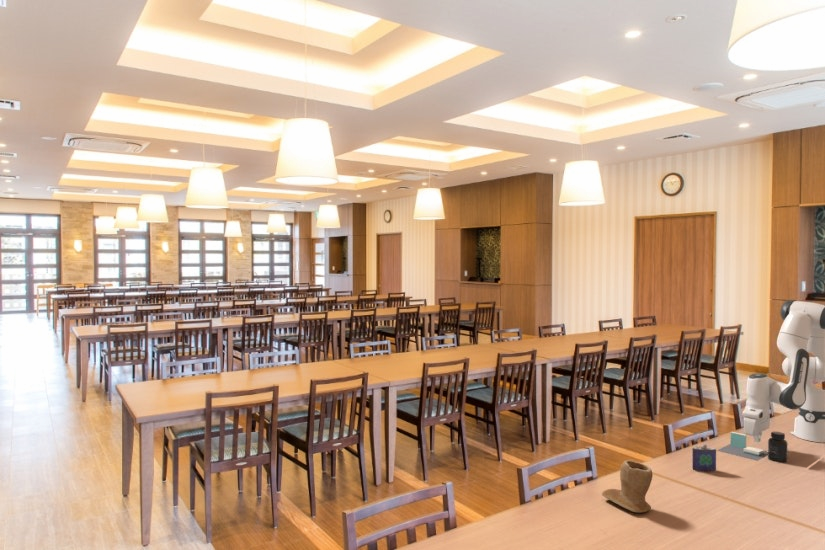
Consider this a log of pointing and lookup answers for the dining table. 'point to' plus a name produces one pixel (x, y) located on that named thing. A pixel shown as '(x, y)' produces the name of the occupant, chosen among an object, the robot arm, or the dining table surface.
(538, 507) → the dining table surface
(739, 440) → the tile
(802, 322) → the robot arm
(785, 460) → the supplement bottle
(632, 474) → the brown boot
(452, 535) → the dining table surface
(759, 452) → the tile
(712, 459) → the flask
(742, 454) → the mat
